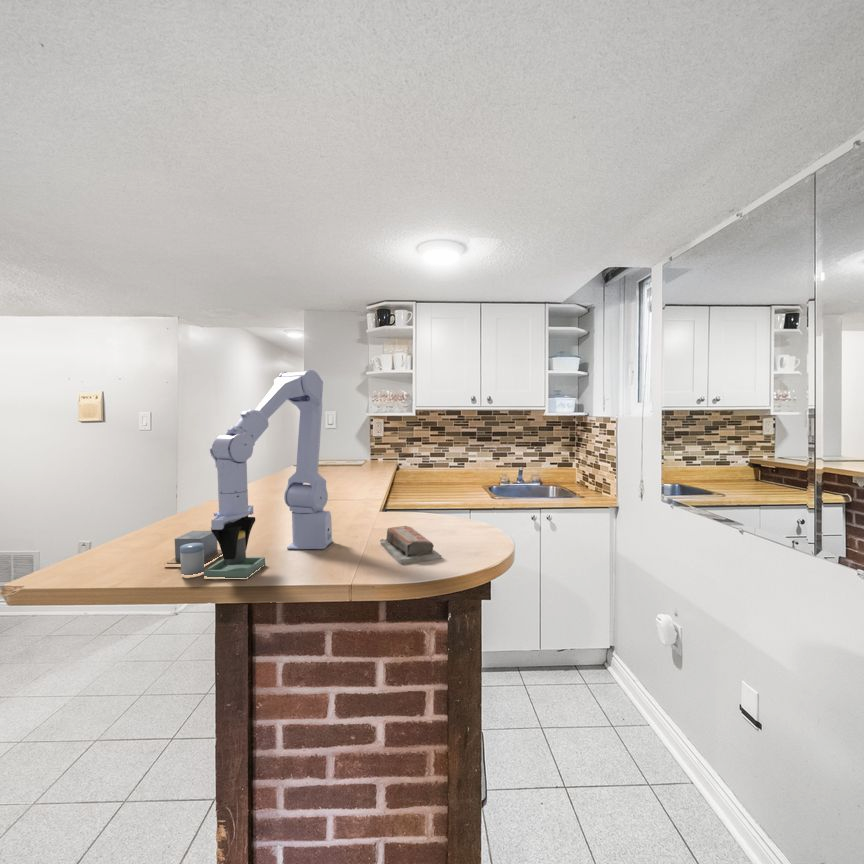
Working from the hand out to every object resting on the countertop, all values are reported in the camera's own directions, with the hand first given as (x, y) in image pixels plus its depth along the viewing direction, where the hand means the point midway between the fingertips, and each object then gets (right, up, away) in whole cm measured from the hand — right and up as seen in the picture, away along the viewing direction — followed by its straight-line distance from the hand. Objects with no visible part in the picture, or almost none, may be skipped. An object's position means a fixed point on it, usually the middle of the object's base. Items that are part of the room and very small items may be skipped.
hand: (235, 555), depth 98 cm
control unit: (-13, -4, +9) cm, 16 cm away
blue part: (-9, -4, -1) cm, 9 cm away
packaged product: (+36, -3, +13) cm, 39 cm away
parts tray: (0, -4, 0) cm, 4 cm away
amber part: (0, -1, 0) cm, 1 cm away
